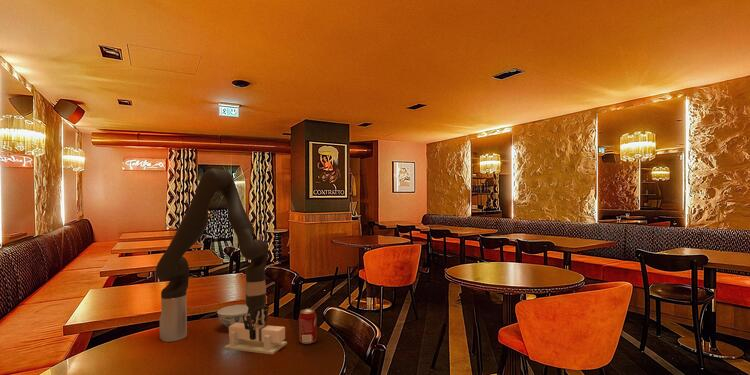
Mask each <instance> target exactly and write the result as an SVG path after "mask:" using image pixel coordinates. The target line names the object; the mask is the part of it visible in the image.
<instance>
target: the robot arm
mask: <svg viewBox="0 0 750 375" xmlns="http://www.w3.org/2000/svg"><path fill="white" fill-rule="evenodd" d="M216 193H220V194H221V195H222V197H223V198H224V200H225V202H226V206H227V214H228V215H227V217H228V221H229V224H230V226H231V227H232V230H233V231H234V233H235V235H236V237H237V238H236V239H237V243H238V246H239V247H238V248H239V251H240V253H241V255H242V257H243V258H245V259H247V260H248V261H250V264H249V265H247V267H246V268H245V290H244V291H245V305H246V306H247V307H248V313H247V314H246V315H243V322H244V326H245V329H246V330H249V334H250V339H251V340H255V339H256V330H255V328H256V324H257V325H265V323H266V322H267V321H268V317H269V310H270V306H269V305H266V303H267V284H266V271H265V269H266V266H267V261H268V260H267V259H268V255H269V248H268V244H267V243H266V241H265V240H263V239H254V238H253V237H254V236H253V235H254V233H255V231H256V230H255V227H254V225H253V223H252V221H251V220H250V218H249V215H248V214H247V212H246V210H245V208H244V206H243V203H242V200H241V197H240V194H239V192H238V189H237V186H236V183H235V180H234V178H233V175H232V174H231V173H230V172H229V171H228V170H226V169H219V168H210V169H209V168H208V169H207V170H206V171H204V172H203V173H202V175H201V177H200V179H199V182H198V184H197V187H196V190H195V193H194V195H193V198H192V199H191V202H190V204H189V206H188V208H187V210H186V212H185V214H184V216H183V217H182V219H181V221H180V224H179V226H178V228H177V230H176V232H175V234H174V236H173V238H172V239H171V242H170V243H169V245H168V246H167V248H166V250H165V252H164V253H163V255H162V256H161V257H160V259H159V261H158V262H157V264H156V266H155V275H156V277H157V279H158V280H159V281H162V282H168V284H167V285H166V286H165V287H164V288H163V289H162V290H161V292H160V305H161V307H160V308H161V314H160V315H159V340H161V341H162V342H165V343H169V342H177V341H180V340H184V339H185V338H186V337H188V324H187V323H188V319H187V318H188V315H187V307H188V306H187V302H188V301H187V290H188V288H189V278H190V276H189V275H190V274H189V273H190V268H189V267H190V265H189V262H188V260H187V258H186V257H184V255H185V253H186V252H187V251H188V250H189V249H190V248H191V247H193V246H194V245H195V244H196V243H197V242H198V241H199V240H200V238H201V237H202V236H203V234H204V232H205V231H206V228H207V226H208V224H209V218H210V216H209V207H210V206H209V205H210V203H211V201H212V199H213V198H214V197H215V194H216ZM252 324H253V326H252ZM248 325H249V326H248Z"/></svg>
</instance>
